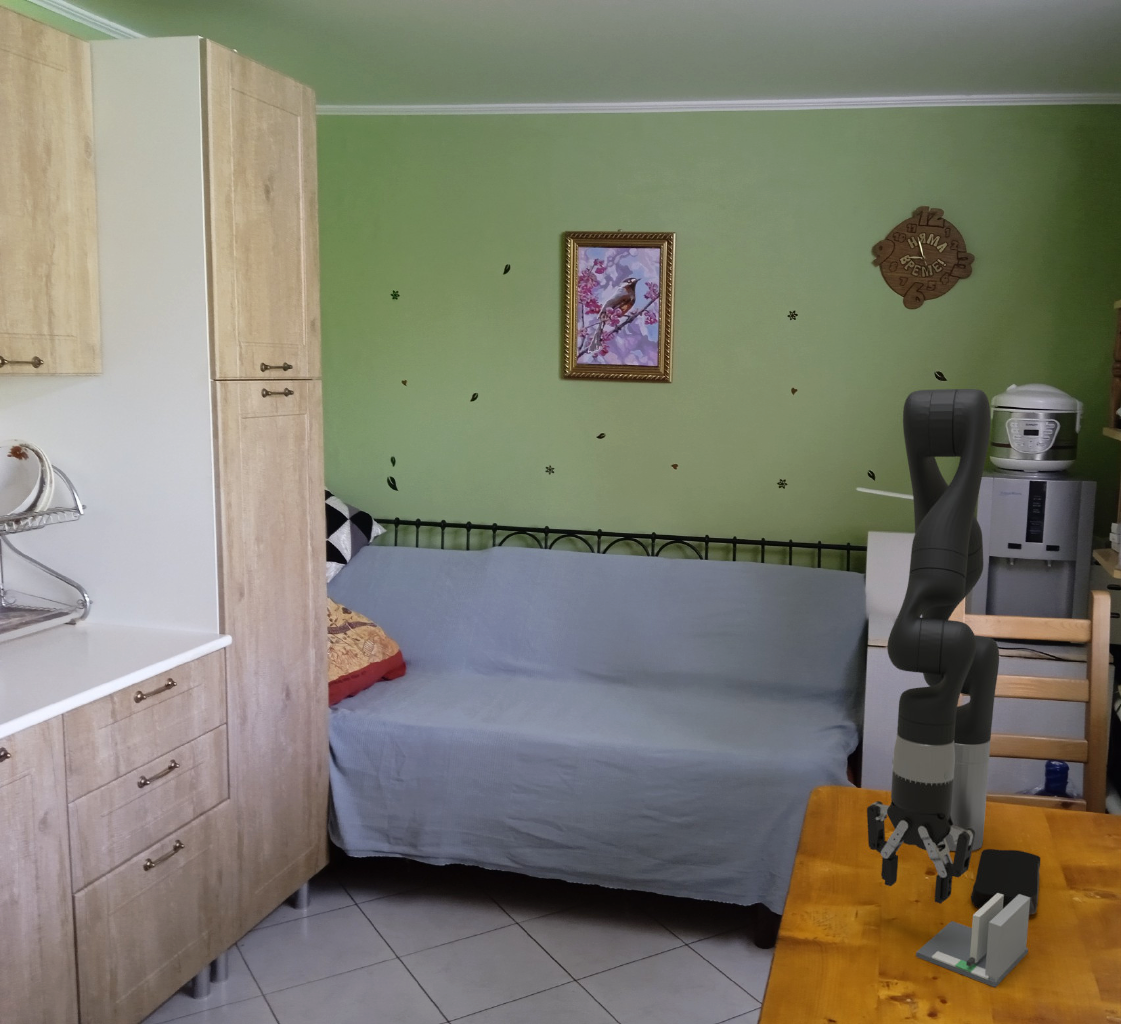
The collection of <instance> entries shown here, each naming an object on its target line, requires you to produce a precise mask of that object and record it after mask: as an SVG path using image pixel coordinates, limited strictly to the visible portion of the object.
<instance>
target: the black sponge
mask: <svg viewBox="0 0 1121 1024" xmlns="http://www.w3.org/2000/svg"><path fill="white" fill-rule="evenodd" d="M979 856H980V857H979V861H978V868H977V871H976V876H975V881H974V884H973V885H972V891H971V895H970V900H971V903H972V904H973V906H974V908H977V909H980V908H981V907H982V906H984V905H985V904H986V903H987V902H988V901H989V900H990V899H991V898H992V897H993V896H995V895H996V894H997V893H1000V894H1003V895H1004V899H1003V909H1004V908H1005V907H1006V906H1007V905H1008V904H1009V903H1010V902H1011V901H1012V900H1013V899H1014V898H1015V897H1016V896H1017V895H1018V894H1020V895H1023V896H1027V897H1030V907H1029V915H1034V914H1036V913H1037V907H1038V900H1039V891H1040V890H1039V887H1040V869H1041V857H1040V856H1039V855H1036V854H1034V853H1030V852H1027V851H1022V850H1016V849H1015V850H1014V849H993V848H987V849H984V850H982V851H981V853H980V855H979Z"/></svg>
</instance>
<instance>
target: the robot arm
mask: <svg viewBox="0 0 1121 1024" xmlns="http://www.w3.org/2000/svg"><path fill="white" fill-rule="evenodd" d="M991 422H992V421H991V407H990V403H989V398H988V396H987V394H986V393H985V391H983V390H981V389H978V388H976V389H975V388H953V389H951V388H950V389H949V388H947V389H937V388H936V389H921V390H914V391H912V392H910V393H909V394H908V396H907V397H906V399H905V402H904V405H903V412H902V427H903V439H904V443H905V444H904V445H905V452H906V457H907V464H908V469H909V476H910V477H909V478H910V482H911V489H912V490H911V491H912V497H913V513H914V515H913V517H914V535H913V536H914V537H913V539H912V545H911V552H910V563H909V564H910V565H909V571H908V572H909V576H908V582H907V586H906V587H907V588H906V591H905V595H904V599H903V602H902V605H901V606H900V610H899V613H898V614H897V616H896V618H895V622H894V623H893V626H892V628H891V631H890V633H889V637H888V640H887V648H886V650H887V654H888V657H889V661H890V662H891V664H892V665H893V666H894V667H895V668H896V669H898V670H900V671H903V672H911V673H918V674H919V673H920V674H923V678H924V681H925V682H926V684H927V685H928V686H922V687H921V686H920V687H912V688H909V689H906V690H904V691H903V692H902V693H901V694H900V695H899V696H900V697H899V701H898V714H897V715H898V716H897V729H896V731H897V733H896V739H895V743H894V748H893V756H892V760H891V761H892V762H891V763H892V774H891V775H892V779H891V791H890V800H891V802H890V804H889V805H886V804H883V802H882V801H879V800H877V801H875V802H873V803H872V804H870V805H869V806H868V807H866V818H867V840H868V841H867V842H868V848H869V849H870V850H873V851H877V852H878V853H879V854H880V855H881V858H882V860H881V879H882V880H883V881H884V885H886V886H888V887H892V886H893V885H895V884H896V883H897V880H898V865H899V855H898V854H897V852H898V850H899V849H900V847H901V846H902V845H903V844H905V845H908V846H916V847H917V848H919V849H921V850H924V851H926V852H927V855H928V858H929V859H930V860H931V861H932V862H933V865H934V866H935V869H936V872H937V875H936V876H935V888H934V889H935V890H934V903H937V904H940V905H941V904H942V903H944V902H945V901H947V900H948V899H949V898H950V897H951V895H952V887H953V886H952V885H953V877H955V878H960V877H961V876H962V875H965V873H966V872H967V871H968V870H969V867H970V863H971V857H972V853H973V852H972V851H977V850H979V849H981V848H982V847H983V843H984V830H985V829H984V828H985V819H986V808H987V807H986V806H987V805H986V804H987V792H988V778H989V777H988V776H989V765H990V763H989V762H990V752H991V751H990V749H991V738H992V737H991V736H992V727H993V719H994V717H993V716H994V706H995V696H996V689H997V682H998V681H997V680H998V674H999V666H1000V665H999V664H1000V649H999V646H998V644H997V641H995V639H993V638H992V637H988V636H987V637H986V636H981V635H975V633H974V631H973V629H972V628H971V627H970V626H969V625H968V624H967V623H965V622H963V621H958V620H950V618H951V616H952V614H953V612H954V611H955V610H956V608H957V607H958V606H959V605H960V603H962V602H963V600H964V599H965V598H966V597H967V596H968V595H969V593H970V592H971V591H972V590H973V588H975V586H976V585H977V583H978V582H979V580H980V579H981V576H982V573H983V571H984V545H983V544H984V543H983V532H982V529H981V526H980V523H979V521H978V520H977V518H976V517H975V513H976V512H975V511H976V506H977V503H978V498H979V495H980V494H979V493H980V489H981V484H982V480H983V479H982V478H983V473H984V467H985V463H986V458H987V453H988V447H989V441H990V437H991V436H990V435H991V434H990V433H991V425H992V424H991ZM936 457H937V458H938V457H939V458H941V457H942V458H945V457H946V458H956V457H959V462H958V466H957V468H956V472H955V474H954V476H953V477H952V480H951V482H950V483H949V484H948V483H947V482H946V480H945V478H944V477H943V474H942V473H941V471H940V467H939V465H938V462H937V461H936ZM960 695H967V696H969V701H968V702H967V703H964V704H961V705H959V706H958V704H959V699H960ZM887 817H888V819H889V820H890V822H891V824H892V826H893V828H894V831H893V832H892V833H891V835H890V836H889V838H888V839H887V840H886V835H885V834H886V833H885V832H886V831H885V820H886V819H887ZM950 851H952V852H954V858H953V859H952V858H951V855H950Z"/></svg>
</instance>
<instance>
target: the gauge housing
mask: <svg viewBox="0 0 1121 1024" xmlns="http://www.w3.org/2000/svg"><path fill="white" fill-rule="evenodd" d="M1029 907H1030V897H1027V896H1023V895H1020V894H1018V895H1017V896H1016V897H1015V898H1014V899H1013V900H1012V901H1011V902H1010V903H1009V904H1008V905H1007V906H1006V907H1005V908H1004V909H1003V910H1002V911H1000V912H999V913H998V914H997V915H996V916H995V917H994V918H993V919H992V920H991V921H990V922H989V930H988V943H987V953H986V954H985V955H984V956H983V957H982V958H981V959H980V960H979V961H978V962H977V963H974V964H973V965H972V966H971V967H970V966H967V965H966V963H967V961H968V960H969V959H970V949H971V936H972V927H970V926H967V925H964V924H961V923H958V922H956V921H953V920H951V921H950V922H948V924H946V925H945V926H944V927H943V928H942V929H941V930H940V931H939V932H938V933H936V934H935V935H934V936H932V938H930V940H928V941H927V942H926V943H925V944H924V945H923V946H922V947H920V949H918V950H916V953H915V957H917V958H918V959H922V960H924V961H927V962H929V963H931V964H934V965H937V966H939V967H941V968H944V969H947V970H949V971H951V972H955V973H957V974H958V975H959V974H960V975H962V976H964V977H968V978H970V979H973V980H975V981H978V982H980V983H982V984H986V985H988V986H990V987H993V988H996V987H998V986H999V984H1001V982H1002V981H1003V980H1004V979H1005V978H1006V977H1007V976H1008V975H1009V973H1010V972H1011V971H1013V969H1014V968H1015V967H1016V966H1017V965H1018V964H1019V963H1020V962H1021V961H1022V960H1023V959H1024V958H1025V957H1026V955H1027V954H1028V953H1029V948H1028V947H1027V944H1028V943H1027V940H1028V931H1029V917H1030V914H1029Z"/></svg>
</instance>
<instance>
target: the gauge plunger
mask: <svg viewBox="0 0 1121 1024" xmlns="http://www.w3.org/2000/svg"><path fill="white" fill-rule="evenodd" d="M1003 899H1004V895H1003V894H1000V893H997V894H996V895H995V896H993V897H992V898H991V899H990V900H989V901H988V902H987V903H986V904H985V905H984V906H982V907H981V908H978V910H977V911H976V912H974V913H973V915H972V923H971V924H972V926H971V928H972V936H971V949H970V959H969V960H968V961H967V963H966V965H967V966H970V967H971V966H972V965H973V964H974V963H977V962H978V961H979V960H980V959H981V958H982V957H983V956H984V955H985V954H986V953H987V943H988V930H989V922H990V921H991V920H992V919H993V918H994V917H995V916H996V915H997V914H998V913H999V912H1000V911H1002V910H1003Z"/></svg>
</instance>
